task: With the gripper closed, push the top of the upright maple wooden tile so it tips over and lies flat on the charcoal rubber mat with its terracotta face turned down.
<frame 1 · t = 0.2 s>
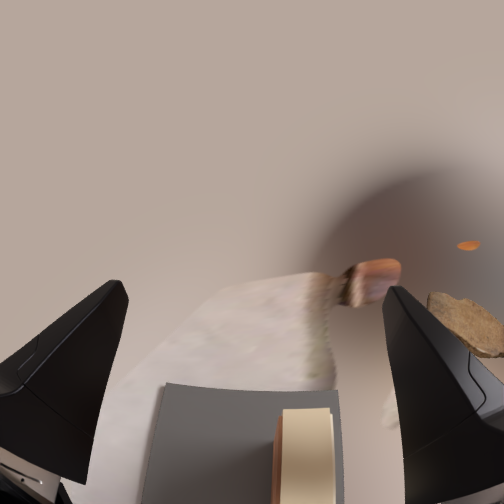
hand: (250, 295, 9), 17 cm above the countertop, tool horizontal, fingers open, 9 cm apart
tile: (291, 479, 15), point 1 cm above the countertop, touching mat
mat: (243, 490, 15), on the countertop
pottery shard: (471, 334, 24), on the countertop
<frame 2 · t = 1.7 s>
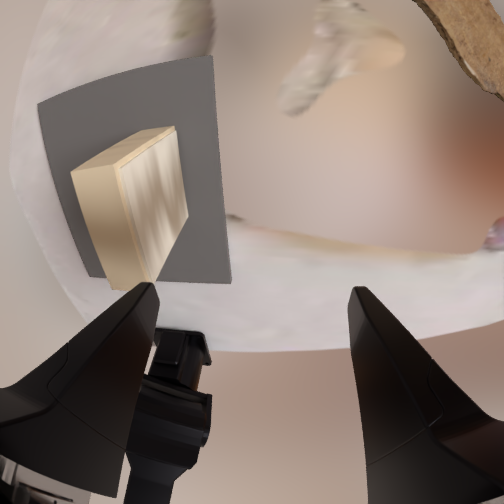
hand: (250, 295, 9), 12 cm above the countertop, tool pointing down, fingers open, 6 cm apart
tile: (164, 175, 18), point 1 cm above the countertop, touching mat
mat: (128, 187, 20), on the countertop
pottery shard: (469, 34, 10), on the countertop
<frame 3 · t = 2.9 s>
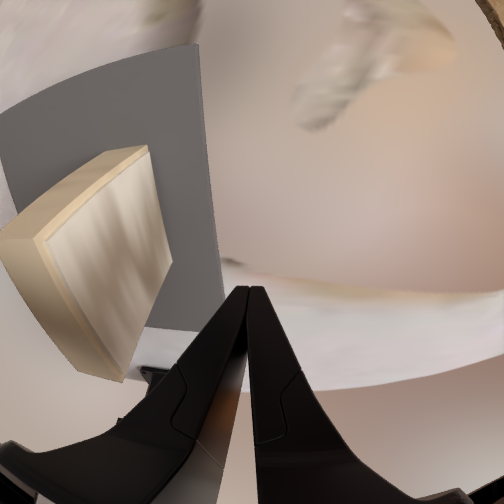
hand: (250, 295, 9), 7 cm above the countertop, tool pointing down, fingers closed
tile: (138, 209, 14), point 1 cm above the countertop, touching mat
mat: (98, 222, 15), on the countertop
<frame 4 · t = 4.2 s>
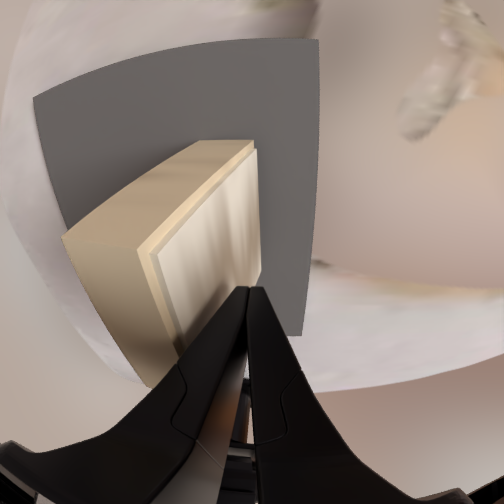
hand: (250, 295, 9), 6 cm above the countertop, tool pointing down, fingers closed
tile: (231, 210, 13), point 1 cm above the countertop, tilted 12°, touching mat
mat: (173, 221, 15), on the countertop
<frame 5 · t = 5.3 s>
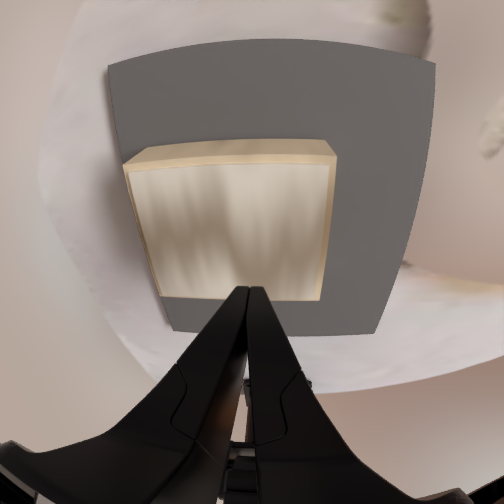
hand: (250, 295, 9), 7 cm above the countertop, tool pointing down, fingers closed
tile: (324, 224, 12), point 2 cm above the countertop, tilted 90°, touching mat
mat: (275, 220, 14), on the countertop
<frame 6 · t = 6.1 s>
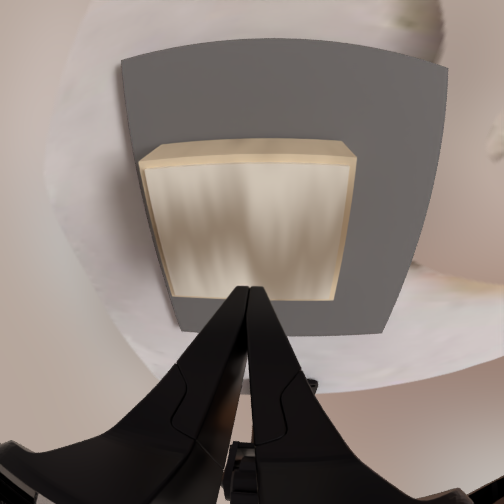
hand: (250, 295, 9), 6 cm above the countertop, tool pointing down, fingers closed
tile: (339, 224, 12), point 2 cm above the countertop, tilted 90°, touching mat
mat: (289, 220, 14), on the countertop
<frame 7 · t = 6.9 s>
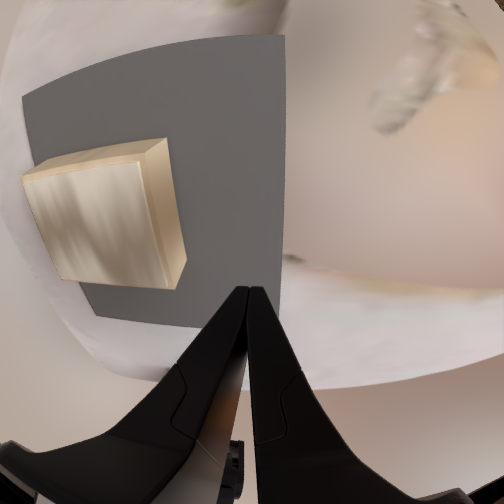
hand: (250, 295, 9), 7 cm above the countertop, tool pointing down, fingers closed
tile: (168, 216, 13), point 2 cm above the countertop, tilted 90°, touching mat
mat: (148, 214, 15), on the countertop
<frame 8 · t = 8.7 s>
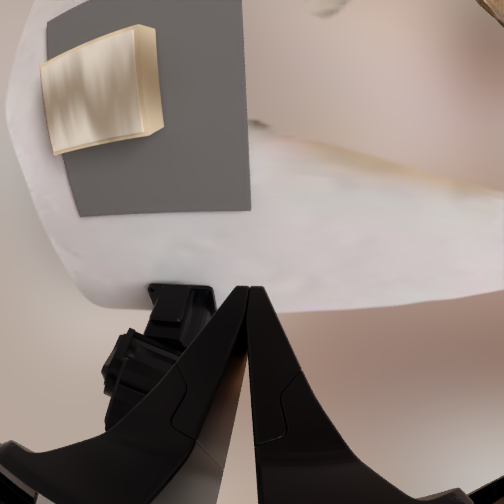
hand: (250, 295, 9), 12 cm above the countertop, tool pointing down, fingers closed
tile: (150, 77, 13), point 2 cm above the countertop, tilted 90°, touching mat
mat: (136, 95, 15), on the countertop
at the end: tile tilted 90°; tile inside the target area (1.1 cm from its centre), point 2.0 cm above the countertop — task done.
